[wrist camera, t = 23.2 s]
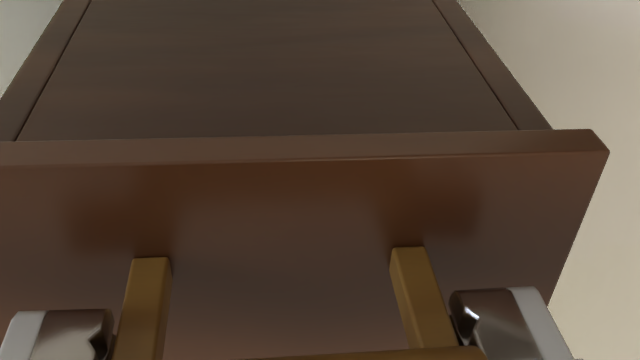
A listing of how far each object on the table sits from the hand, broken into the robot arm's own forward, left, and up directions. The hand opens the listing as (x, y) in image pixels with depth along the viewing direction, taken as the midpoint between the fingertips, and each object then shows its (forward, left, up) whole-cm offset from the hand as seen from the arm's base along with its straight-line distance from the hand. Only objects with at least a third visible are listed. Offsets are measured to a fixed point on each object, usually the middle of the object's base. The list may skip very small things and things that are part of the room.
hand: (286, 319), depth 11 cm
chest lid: (+6, 0, -2) cm, 6 cm away
